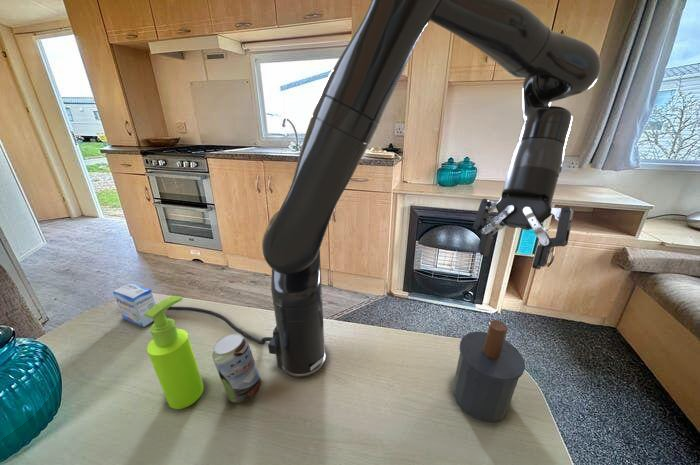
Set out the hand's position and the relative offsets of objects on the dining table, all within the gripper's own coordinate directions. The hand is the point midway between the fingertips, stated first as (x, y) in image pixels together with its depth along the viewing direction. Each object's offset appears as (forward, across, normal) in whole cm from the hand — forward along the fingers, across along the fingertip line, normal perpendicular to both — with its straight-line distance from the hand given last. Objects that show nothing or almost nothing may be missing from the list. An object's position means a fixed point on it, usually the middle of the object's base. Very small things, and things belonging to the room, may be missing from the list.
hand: (508, 261), depth 48 cm
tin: (+26, 0, +4) cm, 26 cm away
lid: (+16, +1, 0) cm, 16 cm away
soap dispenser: (+39, -36, -35) cm, 64 cm away
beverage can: (+36, -30, -27) cm, 54 cm away
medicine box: (+37, -66, -40) cm, 86 cm away
